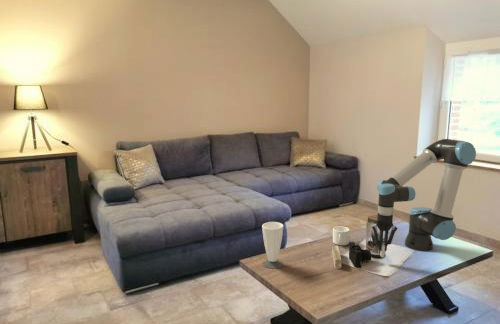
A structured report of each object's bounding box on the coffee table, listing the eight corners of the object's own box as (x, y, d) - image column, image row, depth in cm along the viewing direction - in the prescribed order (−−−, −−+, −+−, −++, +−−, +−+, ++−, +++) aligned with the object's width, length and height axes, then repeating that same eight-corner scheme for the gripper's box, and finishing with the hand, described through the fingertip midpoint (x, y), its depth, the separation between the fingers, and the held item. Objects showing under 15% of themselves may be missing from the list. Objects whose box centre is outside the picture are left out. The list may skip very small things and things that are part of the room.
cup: (287, 263, 200) (288, 224, 196) (274, 270, 191) (274, 230, 187) (271, 257, 207) (271, 220, 203) (257, 264, 199) (257, 225, 195)
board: (337, 254, 210) (337, 245, 209) (341, 268, 193) (341, 259, 192) (332, 253, 211) (332, 245, 210) (335, 268, 193) (335, 259, 192)
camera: (374, 268, 193) (375, 250, 191) (353, 268, 193) (354, 250, 191) (366, 256, 207) (367, 239, 205) (347, 256, 207) (347, 239, 205)
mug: (348, 249, 217) (349, 234, 215) (331, 246, 221) (331, 232, 219) (350, 241, 228) (351, 227, 226) (333, 239, 232) (334, 225, 230)
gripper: (396, 211, 196) (393, 254, 200) (370, 210, 198) (368, 252, 202) (400, 216, 189) (396, 260, 193) (373, 215, 191) (370, 258, 195)
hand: (382, 256), depth 198 cm, fingers closed
